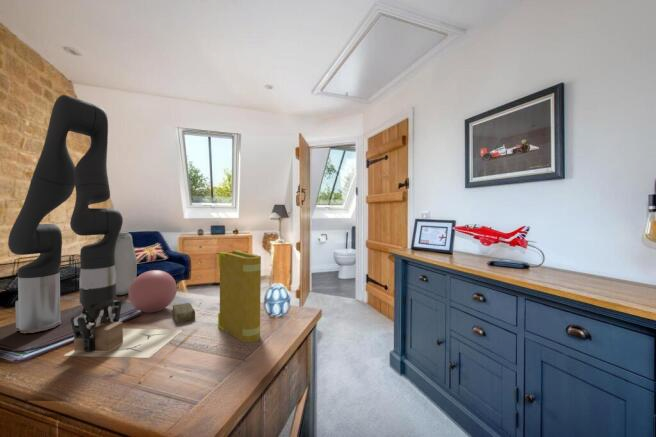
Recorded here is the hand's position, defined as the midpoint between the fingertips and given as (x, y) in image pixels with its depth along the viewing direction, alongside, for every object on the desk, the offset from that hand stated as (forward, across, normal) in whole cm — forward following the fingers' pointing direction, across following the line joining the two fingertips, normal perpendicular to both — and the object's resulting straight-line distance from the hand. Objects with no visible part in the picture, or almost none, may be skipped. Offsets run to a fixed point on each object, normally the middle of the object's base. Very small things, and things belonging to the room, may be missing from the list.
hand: (98, 345), depth 75 cm
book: (+2, -15, +34) cm, 37 cm away
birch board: (+2, -4, +5) cm, 7 cm away
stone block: (+2, -22, +11) cm, 25 cm away
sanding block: (0, 0, 0) cm, 0 cm away
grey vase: (+2, -49, -30) cm, 58 cm away
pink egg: (+2, -32, -6) cm, 33 cm away
